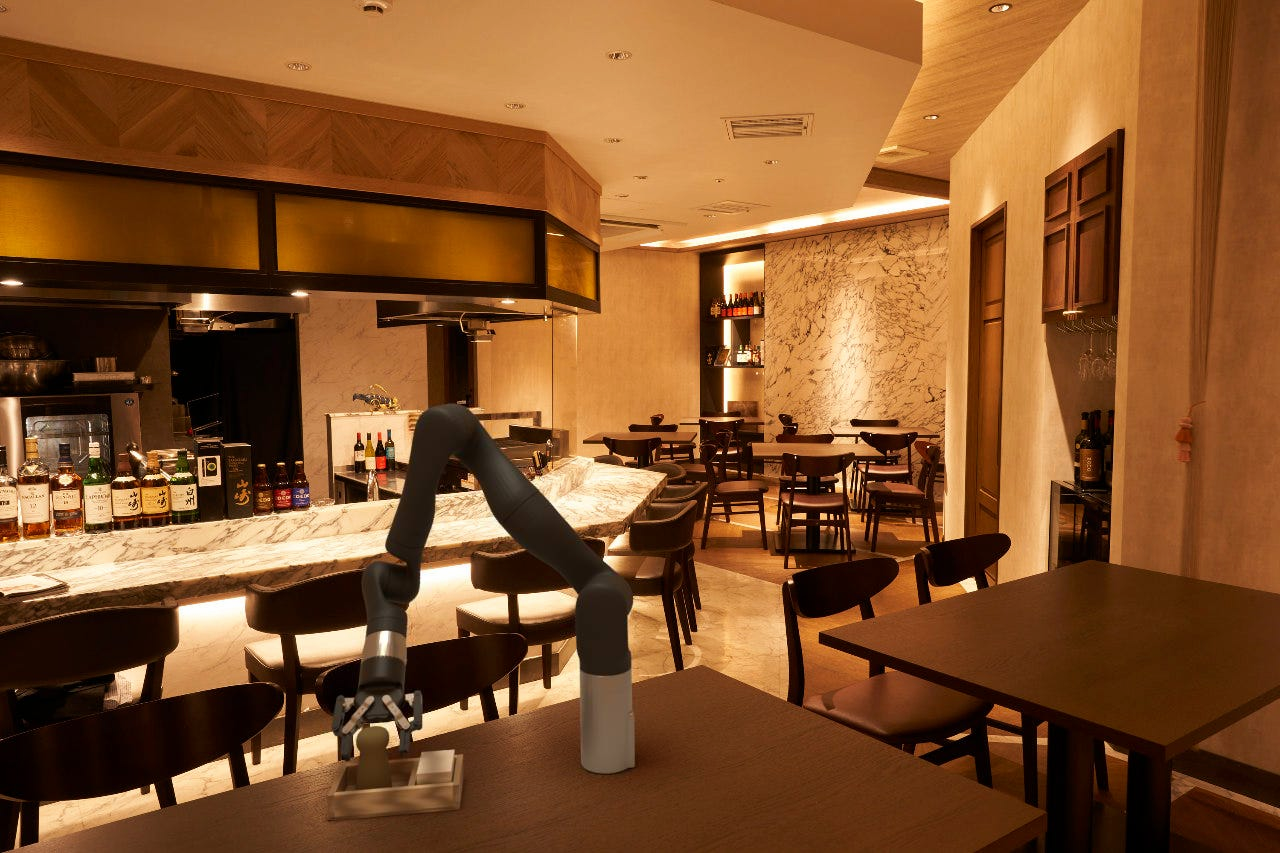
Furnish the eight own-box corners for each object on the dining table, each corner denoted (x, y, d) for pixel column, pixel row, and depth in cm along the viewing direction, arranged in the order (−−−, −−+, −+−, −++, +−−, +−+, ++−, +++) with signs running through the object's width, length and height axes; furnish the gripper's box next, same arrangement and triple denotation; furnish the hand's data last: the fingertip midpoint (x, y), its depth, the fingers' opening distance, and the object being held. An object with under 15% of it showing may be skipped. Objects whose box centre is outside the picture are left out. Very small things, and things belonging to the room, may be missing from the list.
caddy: (463, 777, 141) (462, 745, 141) (459, 809, 130) (458, 774, 130) (342, 787, 138) (341, 754, 138) (328, 821, 127) (327, 785, 127)
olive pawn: (381, 806, 131) (380, 738, 130) (347, 802, 132) (345, 735, 131) (400, 788, 136) (398, 723, 136) (367, 784, 138) (365, 720, 137)
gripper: (337, 656, 139) (324, 752, 128) (423, 651, 141) (417, 745, 130) (344, 676, 145) (332, 769, 134) (427, 671, 147) (422, 762, 136)
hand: (374, 757), depth 132 cm, fingers open, 8 cm apart
